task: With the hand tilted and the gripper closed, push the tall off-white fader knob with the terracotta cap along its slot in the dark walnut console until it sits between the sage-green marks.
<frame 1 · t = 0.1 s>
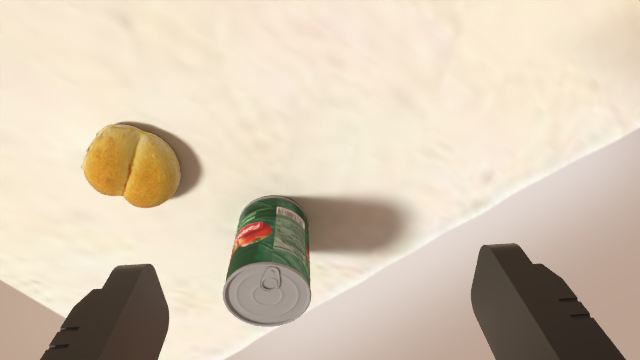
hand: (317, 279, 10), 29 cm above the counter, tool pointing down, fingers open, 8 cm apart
canned tomato: (274, 223, 45), on the counter
bread roll: (137, 161, 40), on the counter
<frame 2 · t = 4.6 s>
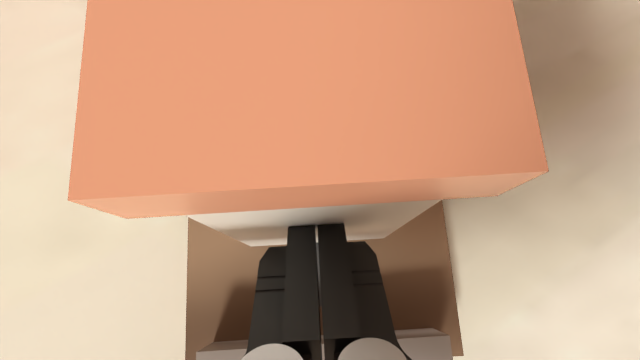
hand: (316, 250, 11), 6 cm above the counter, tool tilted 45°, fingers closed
fader knob: (310, 146, 10), point 8 cm above the counter, slide at 2.3 cm, touching gripper
fader console: (306, 50, 19), on the counter
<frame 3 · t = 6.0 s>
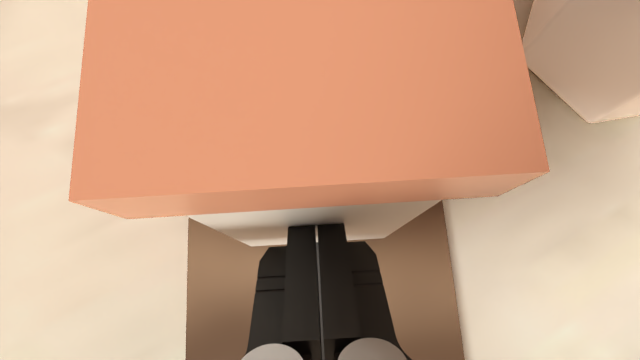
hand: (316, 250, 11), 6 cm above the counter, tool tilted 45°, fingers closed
jar: (600, 48, 20), on the counter
fader knob: (311, 146, 10), point 8 cm above the counter, slide at 10.3 cm, touching gripper
fader console: (315, 208, 17), on the counter
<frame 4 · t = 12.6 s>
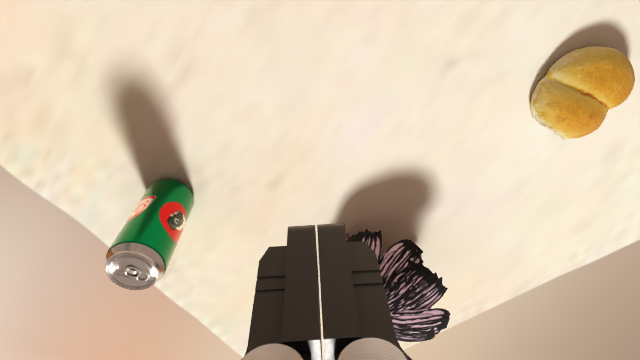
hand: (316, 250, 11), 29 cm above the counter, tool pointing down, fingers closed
decorative flower: (374, 256, 50), on the counter
soda can: (172, 194, 44), on the counter
bread roll: (571, 90, 40), on the counter
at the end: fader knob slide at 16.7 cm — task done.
